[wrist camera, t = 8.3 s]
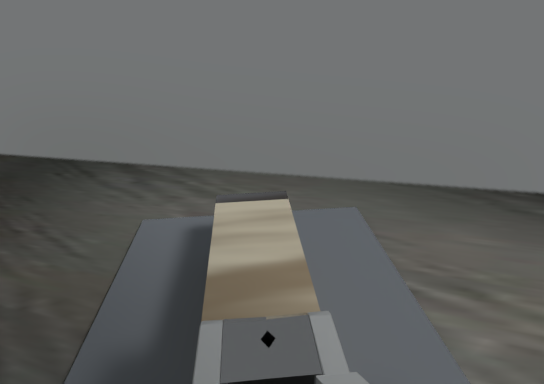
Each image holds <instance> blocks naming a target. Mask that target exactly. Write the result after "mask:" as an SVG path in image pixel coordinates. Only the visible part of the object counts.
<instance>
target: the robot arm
mask: <svg viewBox="0 0 544 384" xmlns="http://www.w3.org/2000/svg"><path fill="white" fill-rule="evenodd" d="M192 384H369V383H368V382H367V381H366V380H365V379H364V378H363V377H362V376H361V375H359V374H358V373H357V372H349V369H348V365H347V362H346V359H345V356H344V353H343V350H342V347H341V344H340V341H339V338H338V334H337V331H336V328H335V325H334V322H333V319H332V316H331V313H330V312H329V311H319V312H308V313H296V314H286V315H275V316H266V317H254V318H236V319H224V320H209V321H202V322H201V324H200V327H199V335H198V342H197V350H196V358H195V366H194V373H193V381H192Z"/></svg>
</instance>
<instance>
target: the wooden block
mask: <svg viewBox="0 0 544 384" xmlns="http://www.w3.org/2000/svg"><path fill="white" fill-rule="evenodd" d="M319 311H320V308H319V304H318V301H317V297H316V294H315V290H314V287H313V283H312V280H311V276H310V273H309V269H308V266H307V262H306V259H305V256H304V252H303V249H302V245H301V242H300V238H299V235H298V231H297V228H296V224H295V221H294V217H293V214H292V210H291V207H290V203H289V200H288V196H287V193H286V191H280V192H263V193H245V194H228V195H217V197H216V205H215V213H214V222H213V230H212V238H211V246H210V254H209V262H208V270H207V278H206V286H205V295H204V303H203V311H202V319H201V322H202V321H209V320H224V319H236V318H254V317H266V316H275V315H286V314H296V313H308V312H319Z"/></svg>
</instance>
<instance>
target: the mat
mask: <svg viewBox="0 0 544 384" xmlns="http://www.w3.org/2000/svg"><path fill="white" fill-rule="evenodd" d="M292 214H293V217H294V221H295V224H296V228H297V231H298V235H299V238H300V242H301V245H302V249H303V252H304V256H305V259H306V262H307V266H308V269H309V273H310V276H311V280H312V283H313V287H314V290H315V294H316V297H317V301H318V304H319V308H320V311H329V312H330V313H331V316H332V319H333V322H334V325H335V328H336V331H337V334H338V338H339V341H340V344H341V347H342V350H343V353H344V356H345V359H346V362H347V365H348V369H349V372H357V373H358V374H359V375H361V376H362V377H363V378H364V379H365V380H366V381H367V382H368V383H369V384H470V382H469V381H468V379H467V378H466V376H465V375H464V373H463V372H462V370H461V369H460V367H459V365H458V364H457V362H456V361H455V359H454V358H453V356H452V355H451V353H450V351H449V350H448V348H447V347H446V345H445V344H444V342H443V341H442V339H441V338H440V336H439V334H438V333H437V331H436V330H435V328H434V327H433V325H432V324H431V322H430V320H429V319H428V317H427V316H426V314H425V313H424V311H423V310H422V308H421V307H420V305H419V303H418V302H417V300H416V299H415V297H414V296H413V294H412V293H411V291H410V289H409V288H408V286H407V285H406V283H405V282H404V280H403V279H402V277H401V276H400V274H399V272H398V271H397V269H396V268H395V266H394V265H393V263H392V262H391V260H390V258H389V257H388V255H387V254H386V252H385V251H384V249H383V248H382V246H381V245H380V243H379V241H378V240H377V238H376V237H375V235H374V234H373V232H372V231H371V229H370V227H369V226H368V224H367V223H366V221H365V220H364V218H363V217H362V215H361V213H360V212H359V210H358V209H357V207H346V208H329V209H313V210H297V211H292ZM213 222H214V216H199V217H183V218H167V219H150V220H143V221H142V223H141V225H140V227H139V229H138V231H137V234H136V236H135V238H134V240H133V242H132V244H131V246H130V248H129V250H128V252H127V254H126V256H125V258H124V260H123V262H122V265H121V267H120V269H119V271H118V273H117V275H116V277H115V279H114V281H113V283H112V285H111V287H110V289H109V291H108V293H107V296H106V298H105V300H104V302H103V304H102V306H101V308H100V310H99V312H98V314H97V316H96V318H95V320H94V322H93V324H92V326H91V329H90V331H89V333H88V335H87V337H86V339H85V341H84V343H83V345H82V347H81V349H80V351H79V353H78V355H77V357H76V360H75V362H74V364H73V366H72V368H71V370H70V372H69V374H68V376H67V378H66V380H65V382H64V384H192V381H193V373H194V366H195V358H196V350H197V342H198V335H199V327H200V324H201V319H202V311H203V303H204V295H205V286H206V278H207V270H208V262H209V254H210V246H211V238H212V230H213Z"/></svg>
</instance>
